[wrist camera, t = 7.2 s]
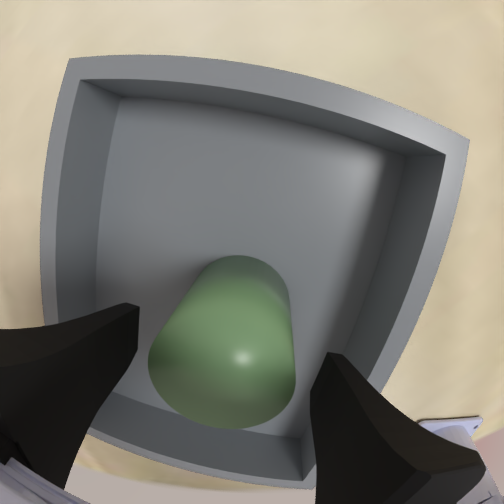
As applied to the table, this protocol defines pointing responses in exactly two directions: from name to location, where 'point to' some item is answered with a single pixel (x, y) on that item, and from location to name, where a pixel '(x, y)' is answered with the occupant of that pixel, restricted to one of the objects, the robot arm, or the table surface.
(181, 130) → the bin
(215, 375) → the green rounded tapered piece
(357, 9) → the table surface
